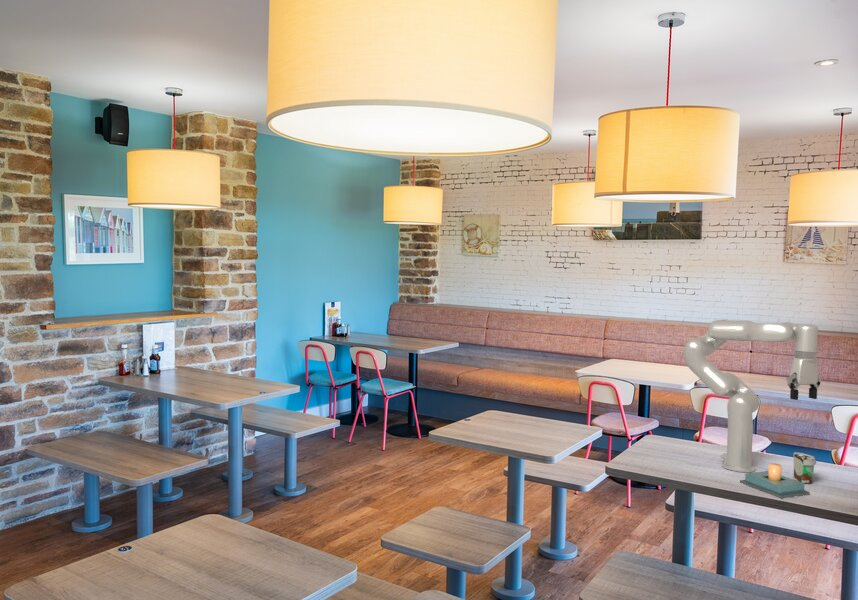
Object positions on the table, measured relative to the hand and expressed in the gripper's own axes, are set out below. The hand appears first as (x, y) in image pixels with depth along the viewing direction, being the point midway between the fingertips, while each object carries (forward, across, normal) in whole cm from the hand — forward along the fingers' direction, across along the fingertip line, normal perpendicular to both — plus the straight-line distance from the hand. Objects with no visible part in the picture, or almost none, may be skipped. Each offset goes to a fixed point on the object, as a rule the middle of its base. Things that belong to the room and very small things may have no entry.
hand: (803, 398), depth 265 cm
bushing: (+32, +19, +5) cm, 37 cm away
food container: (+33, -2, +2) cm, 33 cm away
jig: (+33, +19, +5) cm, 38 cm away
